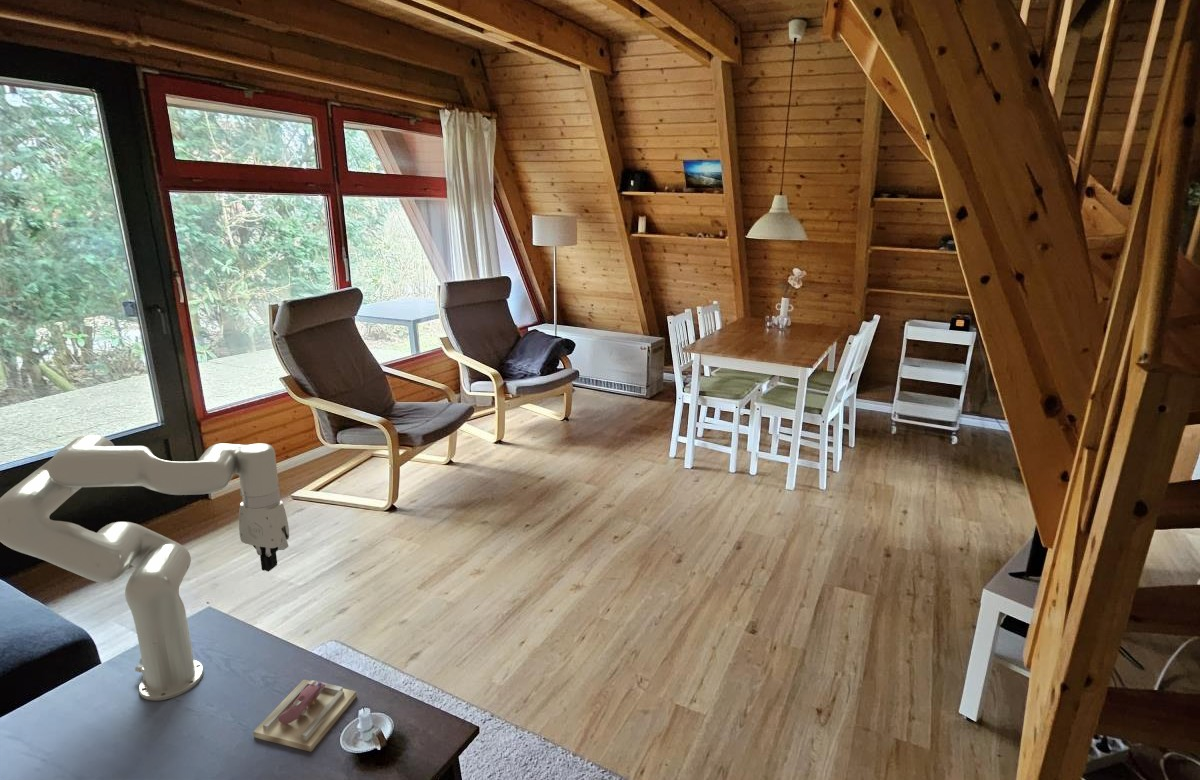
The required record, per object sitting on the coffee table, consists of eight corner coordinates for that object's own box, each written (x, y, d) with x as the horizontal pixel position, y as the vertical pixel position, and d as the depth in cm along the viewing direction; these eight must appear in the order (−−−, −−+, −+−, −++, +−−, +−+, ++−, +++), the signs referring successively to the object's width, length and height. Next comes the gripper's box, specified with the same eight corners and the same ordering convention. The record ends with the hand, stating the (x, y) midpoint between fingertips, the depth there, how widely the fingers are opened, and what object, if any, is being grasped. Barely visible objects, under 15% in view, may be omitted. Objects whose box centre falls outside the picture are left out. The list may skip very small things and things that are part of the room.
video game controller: (292, 733, 135) (303, 713, 132) (275, 722, 135) (285, 701, 132) (321, 700, 144) (331, 680, 142) (305, 689, 144) (315, 669, 142)
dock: (253, 737, 133) (252, 727, 133) (304, 684, 148) (303, 675, 148) (311, 751, 130) (310, 741, 130) (356, 696, 145) (355, 687, 145)
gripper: (220, 499, 140) (230, 571, 145) (277, 509, 137) (286, 582, 142) (245, 486, 147) (254, 554, 152) (301, 494, 144) (308, 564, 149)
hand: (269, 567), depth 147 cm, fingers closed
